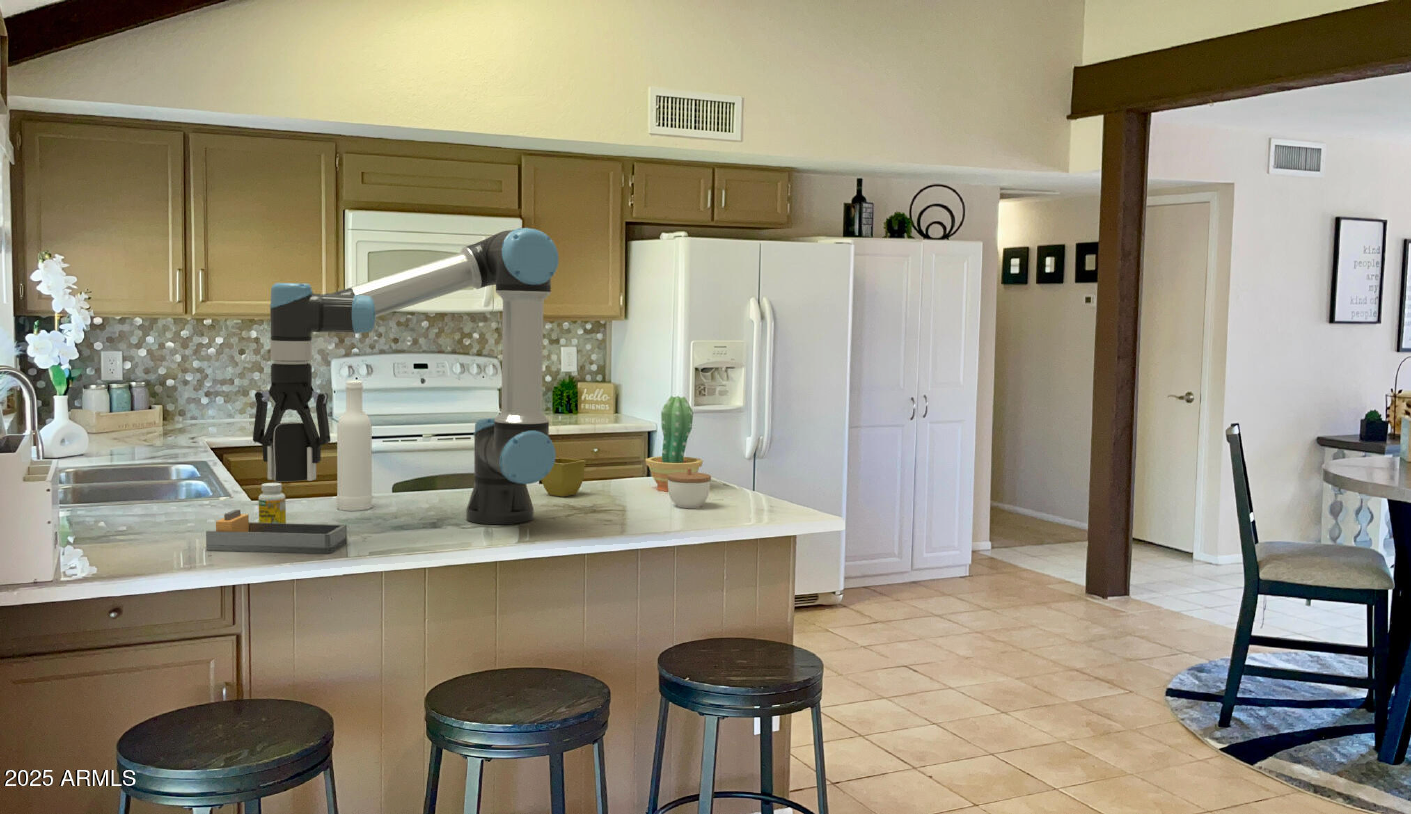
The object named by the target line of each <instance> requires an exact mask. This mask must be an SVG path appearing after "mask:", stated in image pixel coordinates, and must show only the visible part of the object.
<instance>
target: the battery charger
mask: <svg viewBox="0 0 1411 814" xmlns="http://www.w3.org/2000/svg"><path fill="white" fill-rule="evenodd" d="M310 446H311V443H310V441H309V438H308V435H307V433H306V430H305V428H304V425H303V422H280V423H279V424H276V425H275V426H274V428H273V431H272V449H273V453H274V479H273V480H274V481H275V482H276V483H279V482H280V483H281V482H282V483H283V482H299V481H307V447H310Z"/></svg>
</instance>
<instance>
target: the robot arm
mask: <svg viewBox="0 0 1411 814" xmlns="http://www.w3.org/2000/svg"><path fill="white" fill-rule="evenodd" d="M557 248H558V247H557V246H556V244H555V242H554V241H553V239H551V237H550V236H549V235H547V233H545V232H543V231H541V230H538V229H536V228H529V227H523V228H522V227H520V228H516V229H510V230H503V231H500V232H498V233H495V234H493V235H491V236H489V237H487V238H485V239H483V240H480V241H478V242H475V243H472V244H470V245H467V246H463V247H462V248H461V250H460V252H459V253H457V254H453V255H450V256H447V257H444V258H440V259H437V260H434V261H431V262H427V263H424V264H421V265H418V266H414V267H412V268H408V269H405V270H401V271H399V272H395V273H393V274H389V275H385V276H382V277H380V278H376V279H373V280H370V281H367V282H363V283H361V284H357V285H354V286H351V287H349V288H345V289H341V290H338V291H335V292H331V293H324V294H321V293H313V289H312V286H311V284H309V283H297V282H296V283H294V282H276V283H274V284H273V285H272V286H271V288H270V289H271V292H270V304H269V311H270V313H269V314H270V315H269V316H270V318H269V319H270V360H271V361H272V362H273V363H271V365H270V387H269V389H268V390H266V391H265V390H261V391H257V392H255V394H254V398H255V402H256V406H255V407H256V408H255V417H254V424H253V426H254V427H253V433H252V441H253V443H258V444H260V445H261V446H262V460H263V463H266V462H267V480H274V453H273V449H272V431H273V428H274V426H275V425H276V424H279V423H282V419H283V418H284V415H285V413H286V411H289V410H290V411H296V412H297V414H298V415H299V416H300V420H301V423H303V425H304V428H305V430H306V433H307V435H308V438H309V441H310V443H311V446H310V447H307V480H306V481H308V482H310V481H314V480H316V479H317V464H320V463H321V461H322V460H321V459H322V458H321V457H322V455H321V453H322V452H321V451H322V449H321V448H322V446H323V445H327V444H328V443H330V442H331V433H330V425H329V424H330V423H329V417H328V408H327V403H328V399H329V394H328V393H326V392H323V393H322V392H317V391H315V389H314V387H313V385H312V383H313V378H312V377H313V371H312V370H313V369H312V368H313V367H312V366H313V365H311V363H309V362H310V361H312V357H313V356H312V354H313V352H312V348H313V347H312V346H313V345H312V343H313V342H312V340H313V339H312V336H313V335H312V334H313V333H338V334H339V333H340V334H341V333H343V334H345V333H346V334H348V333H349V334H350V333H354V334H360V333H361V334H363V333H371V332H372V331H373V330H374V327H375V323H376V318H377V317H380V316H383V315H386V314H390V313H393V312H396V311H399V310H402V309H405V308H409V307H411V306H415V305H418V304H420V303H423V302H427V301H431V300H433V299H437V298H440V297H442V296H446V295H449V294H452V293H455V292H458V291H462V290H464V289H468V288H470V287H472V288H474V289H476V290H479V289H483V288H485V287H490V286H495V293H496V294H497V295H498V296H499V297H500V298H501V299H502V336H501V337H502V338H501V339H502V343H501V344H502V345H501V346H502V347H501V349H502V350H501V351H502V352H501V355H502V356H501V361H502V362H501V411H500V413H499V414H498V415H497V416H496V417H494V418H482V419H481V418H480V419H478V420H477V421H476V422H475V423H474V432H473V437H474V439H473V440H474V445H473V446H474V447H473V449H474V453H473V454H474V456H473V457H474V458H473V459H474V462H473V463H474V471H473V473H474V478H473V480H474V482H473V484H474V485H473V488H472V491H471V494H470V497H469V500H468V503H467V506H466V509H465V510H466V512H465V517H466V521H469V522H472V523H474V524H475V523H476V524H484V525H513V524H514V525H515V524H520V523H521V524H522V523H527V522H530V521H533V519H534V517H535V513H534V511H535V509H534V505H533V502H532V500H531V499H532V498H531V497H530V492H529V489H528V487H527V485H530V484H535V483H537V482H540V481H542V480H541V479H543V478H544V477H545V476H546V475H547V474H548V473H549V472H550V471H551V469H552V467H553V465H554V462H555V459H556V448H555V445H554V443H553V441H552V440H551V438H550V435H549V434H550V429H549V428H550V424H549V423H550V420H549V418H548V417H546V416H545V414H544V413H543V367H544V366H543V363H544V362H543V356H544V302H545V300H546V299H547V298H548V297H550V295H551V294H552V277H554V275H555V273H556V272H557V269H558V267H559V262H560V261H559V251H558V249H557ZM270 397H271V399H272V401H274V403H275V404H274V406H273V409H272V414H271V417H270V420H269V422H268V425H267V424H266V423H267V414H268V406H269V405H268V402H269V401H270ZM312 398H313V402H314V403H315V412H316V419H317V426H318V430H317V427H316V424H315V422H314V419H313V416H312V413H311V409H310V406H309V402H310V401H311V399H312ZM266 425H267V427H266Z"/></svg>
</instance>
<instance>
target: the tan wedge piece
mask: <svg viewBox="0 0 1411 814" xmlns="http://www.w3.org/2000/svg"><path fill="white" fill-rule="evenodd" d="M223 516H224V517H223V518H220V519H219V520H216V521H215V531H234V532H249V522H250V520H249V516H250V514H247V513H246V514H245V513H243V514H242V513H241V509H233V510H231V511H228V512H226V513H224V515H223Z"/></svg>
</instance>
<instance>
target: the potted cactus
mask: <svg viewBox="0 0 1411 814" xmlns="http://www.w3.org/2000/svg"><path fill="white" fill-rule="evenodd" d="M660 417H661V419H660V420H661V422H660V423H661V424H660V425H661V430H662V435H663V440H662V450H661V455H660V456H653V457H649V458H645V465H646V466H648V468H649V470H650V474H651V477H652V478H653V480H654V482H655V483H656V484H657V486H656V490H658V491H659V492H660V491H661V492H665V493H666V492H668V479H667V475H668V474H670V473H676V472H687V469H688V468H691V472H697V473H699V469H700V468H702V466H703V462H704V460H702V459H701V458H698V457H697V458H696V457H690V456H685V451H686V447H687V443H688V438H689V436H690V433H691V431H692V428H693V418H694V411H693V408H692V407H691V406H690V404H689V402H688V400H687V399H686V396H682V397H680V396H675V397H674V396H672V395H671V396H670V397H669V398H668V400H667V401H666V402H665V404H664V405H663V407H662V410H661V412H660ZM668 493H669V492H668Z"/></svg>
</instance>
